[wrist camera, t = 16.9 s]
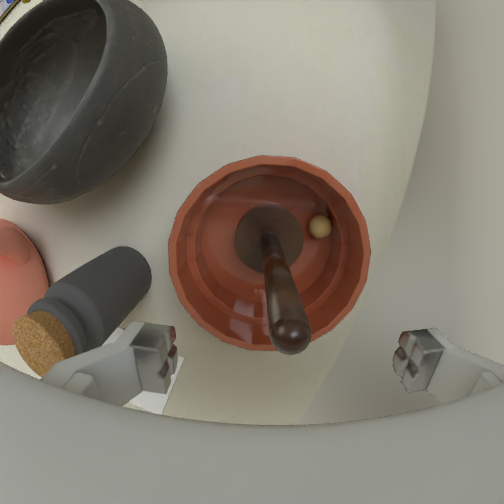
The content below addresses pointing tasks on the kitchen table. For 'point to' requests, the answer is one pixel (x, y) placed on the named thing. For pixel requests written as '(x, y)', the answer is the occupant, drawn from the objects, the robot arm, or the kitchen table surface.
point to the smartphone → (6, 7)
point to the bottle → (82, 309)
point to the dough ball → (320, 226)
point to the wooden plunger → (276, 271)
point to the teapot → (18, 278)
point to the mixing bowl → (252, 282)
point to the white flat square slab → (146, 399)
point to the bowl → (76, 96)
